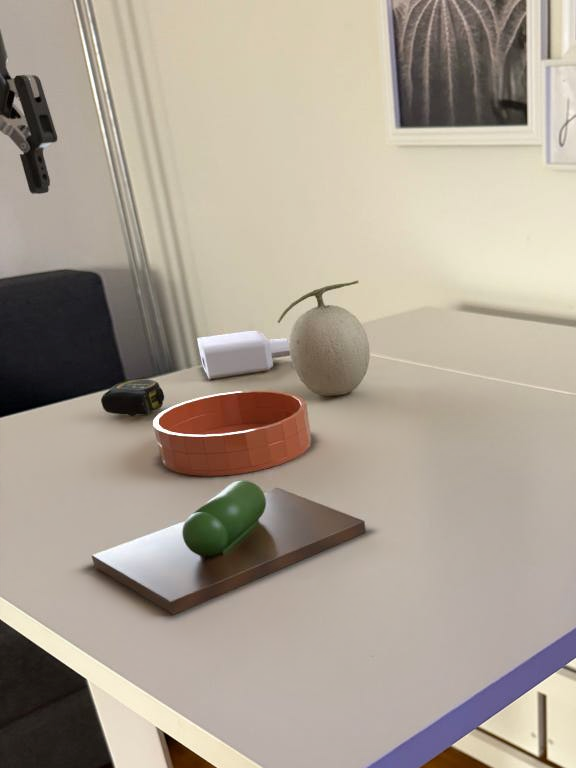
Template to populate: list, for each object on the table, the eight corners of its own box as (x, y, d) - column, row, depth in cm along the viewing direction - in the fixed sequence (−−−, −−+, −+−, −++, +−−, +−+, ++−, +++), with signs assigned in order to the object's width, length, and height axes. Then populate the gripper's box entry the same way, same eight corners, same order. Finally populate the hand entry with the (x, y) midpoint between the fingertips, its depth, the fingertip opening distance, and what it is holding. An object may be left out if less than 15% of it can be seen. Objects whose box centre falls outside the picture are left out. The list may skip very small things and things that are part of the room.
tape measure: (103, 419, 123) (95, 391, 121) (134, 404, 129) (127, 377, 127) (146, 422, 121) (139, 393, 119) (176, 406, 127) (170, 378, 125)
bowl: (213, 487, 99) (204, 447, 96) (135, 455, 109) (125, 418, 107) (340, 443, 109) (335, 405, 107) (258, 417, 120) (251, 383, 117)
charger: (309, 366, 141) (209, 381, 137) (297, 353, 149) (202, 367, 144) (305, 334, 139) (203, 348, 135) (292, 323, 146) (196, 336, 142)
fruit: (288, 389, 131) (269, 276, 123) (369, 379, 133) (355, 268, 125) (292, 409, 122) (273, 290, 114) (379, 399, 124) (365, 280, 116)
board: (173, 615, 74) (170, 602, 74) (94, 567, 83) (90, 555, 83) (366, 532, 86) (364, 520, 86) (279, 498, 95) (277, 487, 94)
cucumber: (220, 565, 79) (211, 522, 77) (179, 563, 80) (168, 520, 78) (276, 514, 88) (269, 474, 86) (238, 512, 89) (230, 473, 87)
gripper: (-139, 13, 88) (-77, 201, 96) (-13, 0, 85) (40, 196, 93) (-80, 17, 94) (-26, 193, 103) (40, 4, 91) (85, 188, 99)
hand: (5, 194), depth 98 cm, fingers open, 8 cm apart
